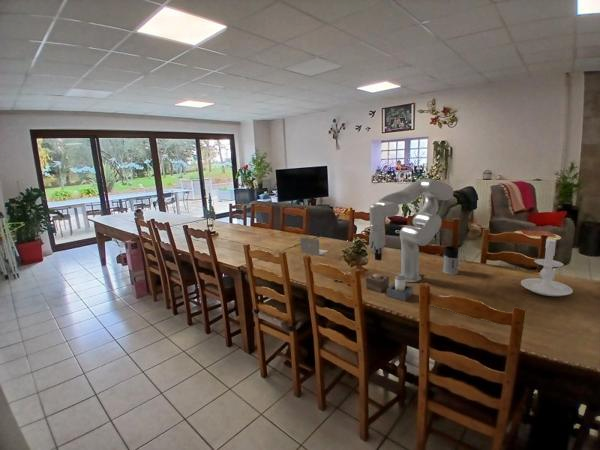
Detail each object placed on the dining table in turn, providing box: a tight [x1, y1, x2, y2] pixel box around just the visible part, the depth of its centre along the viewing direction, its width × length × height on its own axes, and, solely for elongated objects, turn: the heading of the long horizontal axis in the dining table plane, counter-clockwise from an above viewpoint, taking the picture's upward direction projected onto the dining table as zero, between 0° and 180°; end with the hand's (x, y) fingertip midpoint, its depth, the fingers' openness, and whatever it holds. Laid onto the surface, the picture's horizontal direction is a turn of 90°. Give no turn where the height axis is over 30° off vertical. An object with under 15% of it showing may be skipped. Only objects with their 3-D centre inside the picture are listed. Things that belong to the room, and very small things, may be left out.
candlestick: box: [520, 238, 574, 297], centre depth 156 cm, size 21×25×28 cm
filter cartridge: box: [394, 274, 406, 292], centre depth 162 cm, size 5×5×10 cm
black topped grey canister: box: [442, 245, 466, 275], centre depth 186 cm, size 9×14×15 cm, turn 18°
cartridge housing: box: [386, 282, 414, 302], centre depth 163 cm, size 10×10×4 cm
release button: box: [373, 273, 383, 280], centre depth 173 cm, size 5×5×6 cm
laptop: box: [299, 236, 329, 256], centre depth 244 cm, size 18×12×13 cm
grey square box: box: [365, 273, 390, 293], centre depth 173 cm, size 9×9×6 cm
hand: (378, 259), depth 171 cm, fingers closed
